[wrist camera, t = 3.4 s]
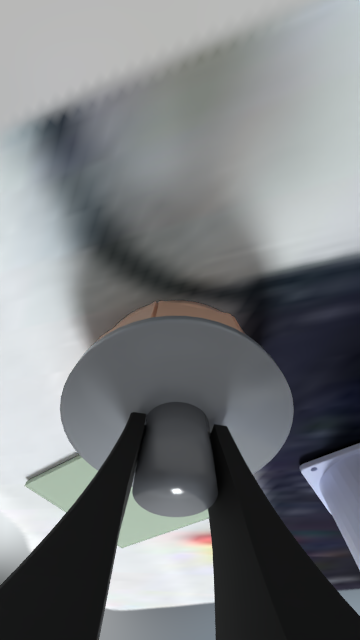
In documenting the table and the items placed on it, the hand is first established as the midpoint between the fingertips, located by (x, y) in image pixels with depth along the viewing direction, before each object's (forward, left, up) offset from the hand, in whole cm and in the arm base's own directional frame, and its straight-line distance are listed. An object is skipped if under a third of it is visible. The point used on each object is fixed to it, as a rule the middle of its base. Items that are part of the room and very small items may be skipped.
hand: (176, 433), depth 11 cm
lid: (0, 0, -1) cm, 1 cm away
